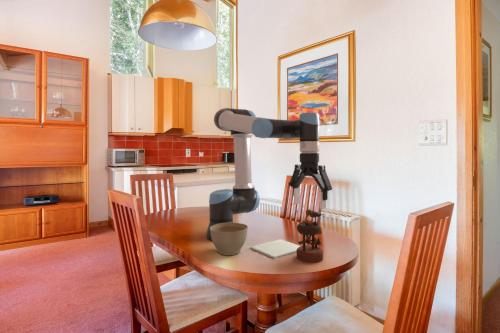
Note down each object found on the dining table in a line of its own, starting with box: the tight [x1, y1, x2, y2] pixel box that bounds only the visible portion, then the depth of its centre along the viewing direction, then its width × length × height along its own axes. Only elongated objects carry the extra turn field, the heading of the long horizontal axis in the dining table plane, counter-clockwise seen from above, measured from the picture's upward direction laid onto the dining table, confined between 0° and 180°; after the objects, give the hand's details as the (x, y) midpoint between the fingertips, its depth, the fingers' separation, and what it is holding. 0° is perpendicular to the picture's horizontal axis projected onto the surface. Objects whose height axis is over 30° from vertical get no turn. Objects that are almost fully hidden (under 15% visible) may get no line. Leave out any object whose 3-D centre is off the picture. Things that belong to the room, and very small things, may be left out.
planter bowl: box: [210, 222, 249, 256], centre depth 127 cm, size 16×16×11 cm
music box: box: [296, 209, 325, 264], centre depth 119 cm, size 15×11×20 cm
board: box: [250, 238, 301, 259], centre depth 131 cm, size 16×18×1 cm
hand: (309, 206), depth 118 cm, fingers open, 13 cm apart
